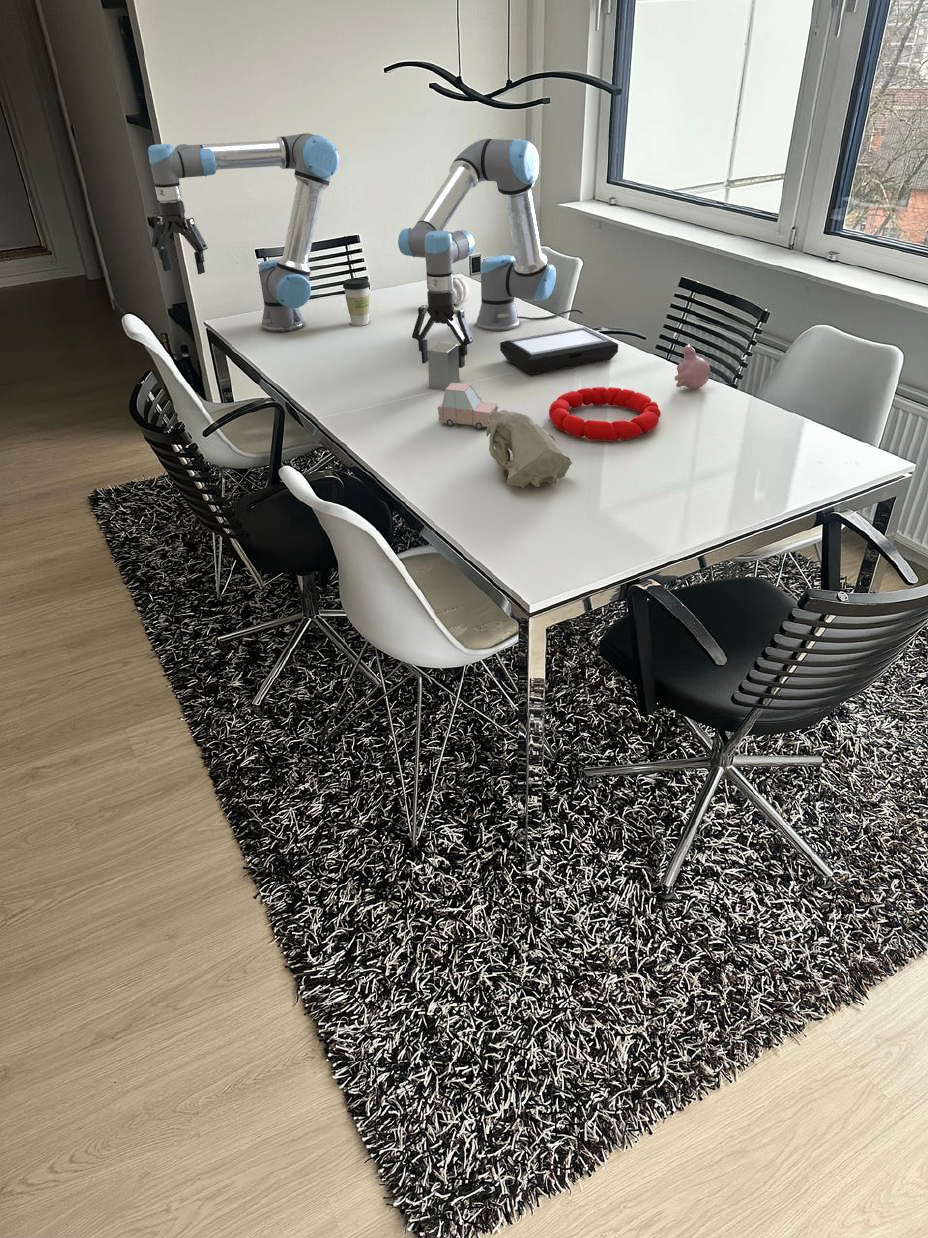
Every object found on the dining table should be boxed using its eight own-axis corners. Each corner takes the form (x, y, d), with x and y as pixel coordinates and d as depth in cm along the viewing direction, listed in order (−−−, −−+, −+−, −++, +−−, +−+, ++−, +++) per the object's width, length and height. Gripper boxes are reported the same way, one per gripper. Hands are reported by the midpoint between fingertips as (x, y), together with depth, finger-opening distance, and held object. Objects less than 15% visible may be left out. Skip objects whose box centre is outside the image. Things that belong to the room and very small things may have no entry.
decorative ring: (589, 435, 224) (684, 402, 234) (527, 398, 247) (617, 369, 256) (589, 461, 229) (683, 427, 238) (529, 422, 251) (617, 393, 260)
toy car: (488, 432, 240) (488, 396, 234) (436, 426, 244) (434, 390, 239) (499, 419, 247) (499, 384, 241) (448, 413, 252) (447, 379, 246)
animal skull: (496, 517, 219) (521, 479, 201) (463, 429, 225) (484, 384, 207) (557, 503, 225) (586, 465, 206) (523, 417, 231) (549, 373, 212)
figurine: (665, 387, 264) (669, 347, 257) (693, 380, 268) (698, 340, 261) (686, 396, 257) (690, 355, 250) (714, 388, 262) (720, 348, 255)
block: (429, 388, 270) (427, 350, 263) (440, 379, 276) (438, 341, 269) (448, 390, 267) (447, 352, 261) (459, 381, 274) (458, 343, 267)
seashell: (432, 303, 345) (431, 277, 340) (465, 297, 351) (465, 271, 345) (444, 310, 338) (443, 282, 332) (478, 303, 343) (478, 276, 338)
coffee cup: (372, 326, 323) (368, 283, 314) (345, 327, 323) (340, 284, 315) (374, 318, 331) (371, 276, 322) (348, 319, 331) (344, 277, 323)
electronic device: (528, 357, 271) (500, 339, 286) (528, 377, 274) (500, 358, 289) (618, 341, 281) (586, 325, 296) (617, 360, 284) (585, 343, 300)
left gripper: (130, 200, 279) (146, 271, 291) (195, 204, 270) (209, 277, 282) (146, 196, 285) (161, 266, 297) (210, 200, 276) (223, 271, 288)
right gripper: (397, 289, 257) (402, 364, 269) (473, 296, 249) (475, 372, 261) (408, 283, 263) (413, 356, 275) (483, 289, 254) (484, 364, 267)
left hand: (184, 271), depth 290 cm, fingers open, 13 cm apart
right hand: (443, 364), depth 268 cm, fingers open, 11 cm apart
